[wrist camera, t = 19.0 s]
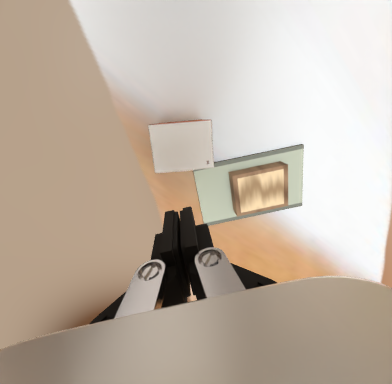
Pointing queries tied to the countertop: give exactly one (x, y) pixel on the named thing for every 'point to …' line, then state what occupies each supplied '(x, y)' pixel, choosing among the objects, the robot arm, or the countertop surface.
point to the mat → (219, 177)
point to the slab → (259, 188)
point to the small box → (181, 145)
